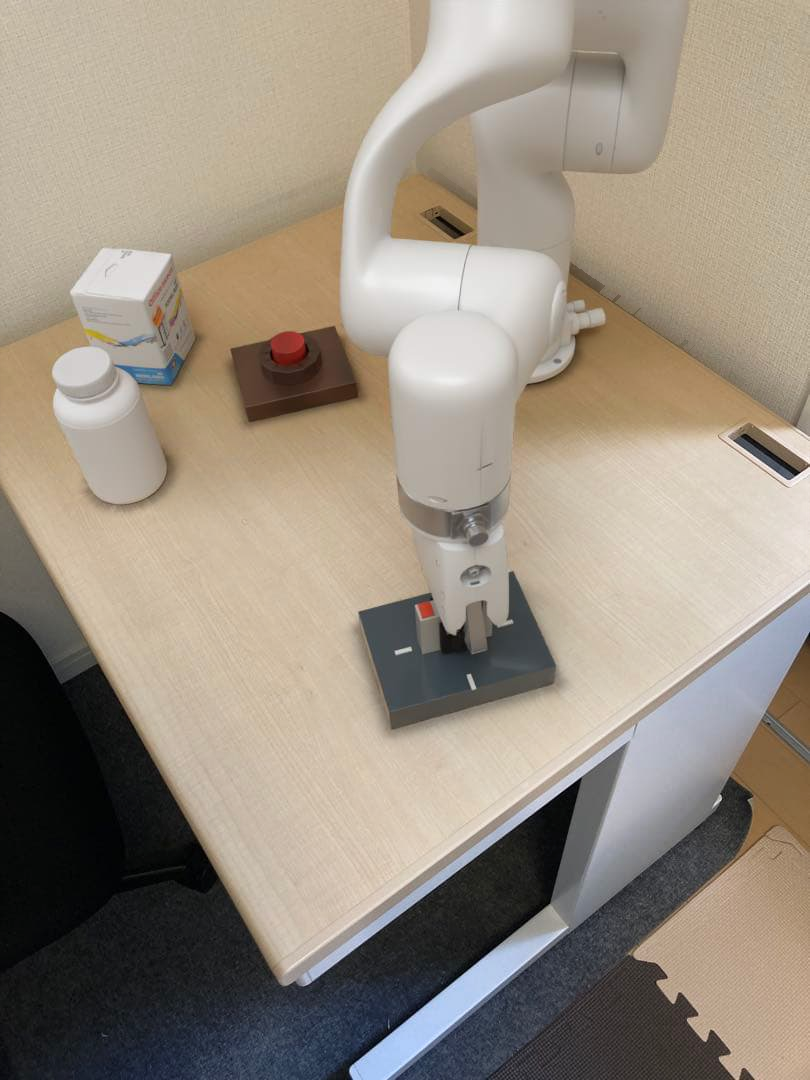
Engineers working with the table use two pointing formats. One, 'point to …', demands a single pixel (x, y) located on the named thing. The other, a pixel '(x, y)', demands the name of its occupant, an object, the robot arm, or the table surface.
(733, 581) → the table surface
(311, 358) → the button block
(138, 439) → the pill bottle
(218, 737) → the table surface
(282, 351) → the button
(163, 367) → the ink box
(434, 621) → the beige rectangular block
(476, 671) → the rotary knob panel
